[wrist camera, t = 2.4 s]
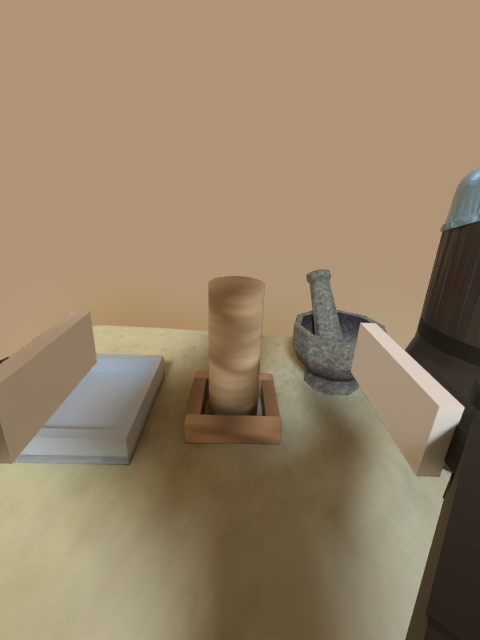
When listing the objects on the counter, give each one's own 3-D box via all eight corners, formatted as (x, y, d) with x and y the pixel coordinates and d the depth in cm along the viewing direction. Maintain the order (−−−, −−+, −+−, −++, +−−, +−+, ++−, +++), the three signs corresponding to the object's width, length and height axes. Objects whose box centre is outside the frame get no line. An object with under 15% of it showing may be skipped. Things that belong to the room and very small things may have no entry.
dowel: (255, 399, 33) (262, 277, 28) (257, 429, 29) (267, 292, 24) (211, 398, 33) (210, 275, 28) (207, 428, 29) (205, 291, 24)
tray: (164, 374, 37) (163, 355, 36) (129, 464, 25) (125, 439, 24) (77, 372, 37) (73, 353, 36) (-1, 461, 25) (-10, 436, 24)
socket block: (270, 389, 35) (271, 373, 34) (279, 444, 27) (281, 425, 27) (196, 387, 35) (195, 371, 34) (184, 442, 27) (183, 423, 27)
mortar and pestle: (394, 396, 35) (422, 289, 30) (320, 414, 31) (338, 298, 27) (332, 349, 44) (346, 263, 40) (270, 359, 41) (277, 267, 37)
